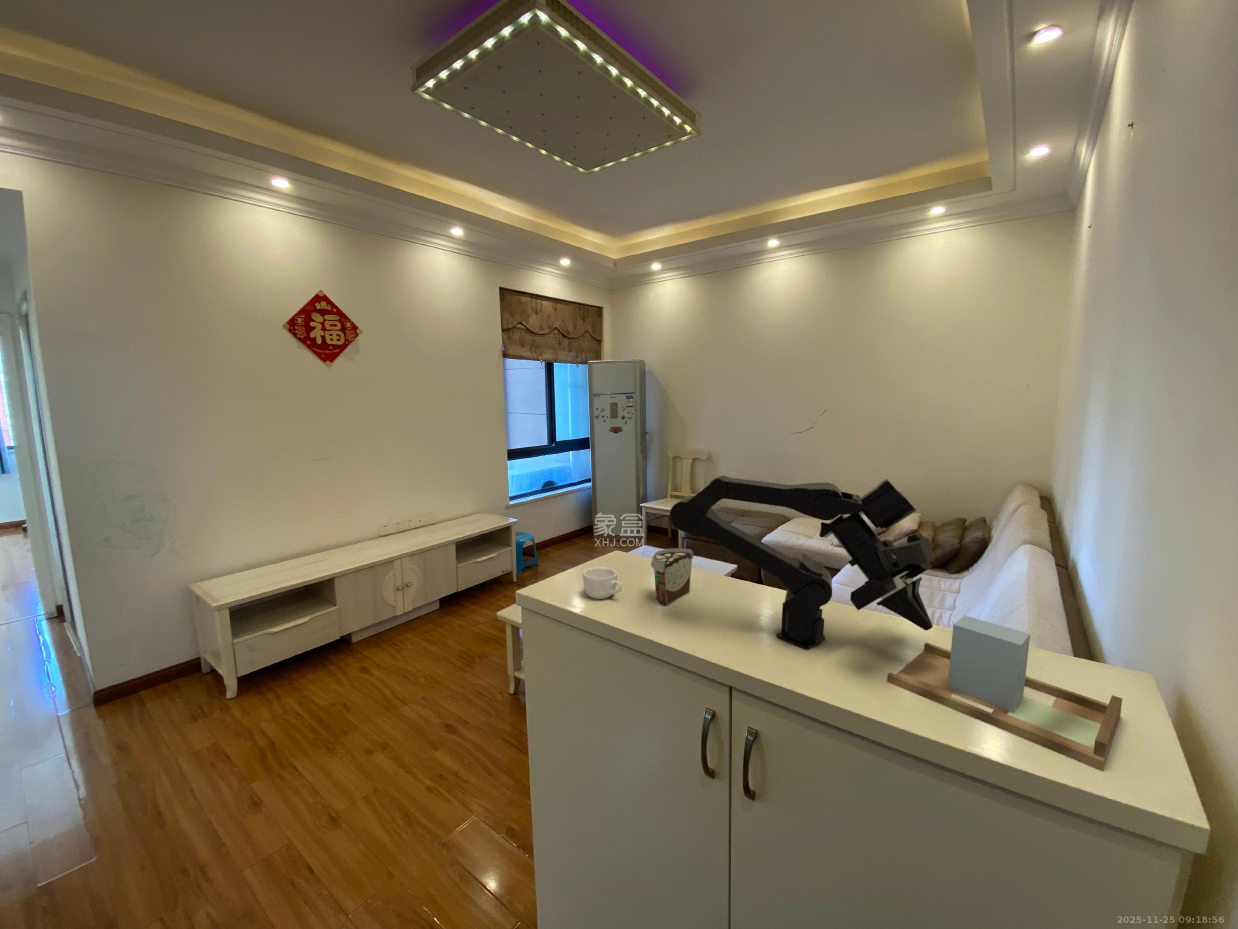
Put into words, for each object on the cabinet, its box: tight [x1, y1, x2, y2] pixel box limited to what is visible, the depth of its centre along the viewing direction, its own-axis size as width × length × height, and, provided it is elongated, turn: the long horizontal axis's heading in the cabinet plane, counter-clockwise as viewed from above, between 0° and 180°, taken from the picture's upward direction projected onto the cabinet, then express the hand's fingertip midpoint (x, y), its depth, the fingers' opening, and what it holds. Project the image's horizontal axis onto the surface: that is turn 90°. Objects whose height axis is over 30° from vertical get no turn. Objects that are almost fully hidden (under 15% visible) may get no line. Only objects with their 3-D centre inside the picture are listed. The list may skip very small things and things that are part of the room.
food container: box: [650, 548, 694, 607], centre depth 111 cm, size 12×6×10 cm, turn 141°
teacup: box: [582, 566, 623, 600], centre depth 112 cm, size 10×8×5 cm
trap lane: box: [886, 642, 1123, 772], centre depth 72 cm, size 24×16×4 cm, turn 40°
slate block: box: [947, 615, 1031, 713], centre depth 73 cm, size 8×5×10 cm, turn 40°
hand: (929, 628), depth 78 cm, fingers closed
